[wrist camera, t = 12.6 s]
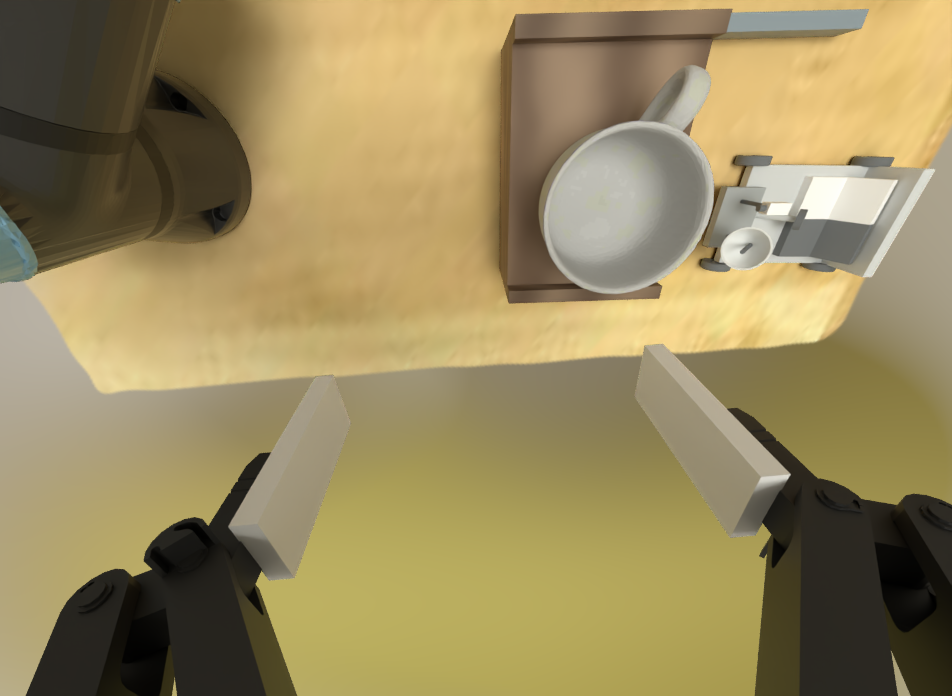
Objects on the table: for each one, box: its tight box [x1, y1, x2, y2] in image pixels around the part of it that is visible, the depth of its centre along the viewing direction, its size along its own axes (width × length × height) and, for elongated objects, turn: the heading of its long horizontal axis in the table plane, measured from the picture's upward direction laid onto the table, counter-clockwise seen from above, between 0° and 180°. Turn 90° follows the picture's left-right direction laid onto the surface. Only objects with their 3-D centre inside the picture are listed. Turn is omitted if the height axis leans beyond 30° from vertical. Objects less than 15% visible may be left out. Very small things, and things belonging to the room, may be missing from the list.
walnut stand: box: [499, 9, 732, 303], centre depth 32 cm, size 14×20×10 cm
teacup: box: [539, 65, 714, 294], centre depth 26 cm, size 14×11×8 cm
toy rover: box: [700, 155, 935, 277], centre depth 36 cm, size 18×10×12 cm
